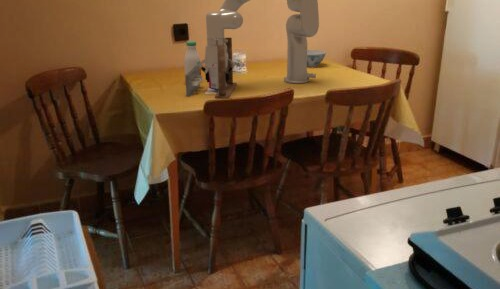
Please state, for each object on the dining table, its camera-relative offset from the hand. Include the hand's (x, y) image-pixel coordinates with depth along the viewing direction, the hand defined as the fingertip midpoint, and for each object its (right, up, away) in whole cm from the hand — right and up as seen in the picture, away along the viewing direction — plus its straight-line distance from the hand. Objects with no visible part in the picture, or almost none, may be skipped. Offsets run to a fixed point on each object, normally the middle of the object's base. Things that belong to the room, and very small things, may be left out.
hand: (217, 81), depth 201 cm
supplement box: (0, -3, +1) cm, 3 cm away
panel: (-10, -4, +3) cm, 11 cm away
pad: (0, -5, +2) cm, 5 cm away
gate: (+4, -4, +1) cm, 6 cm away
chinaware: (+49, +16, +55) cm, 75 cm away
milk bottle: (-13, +2, +19) cm, 23 cm away
